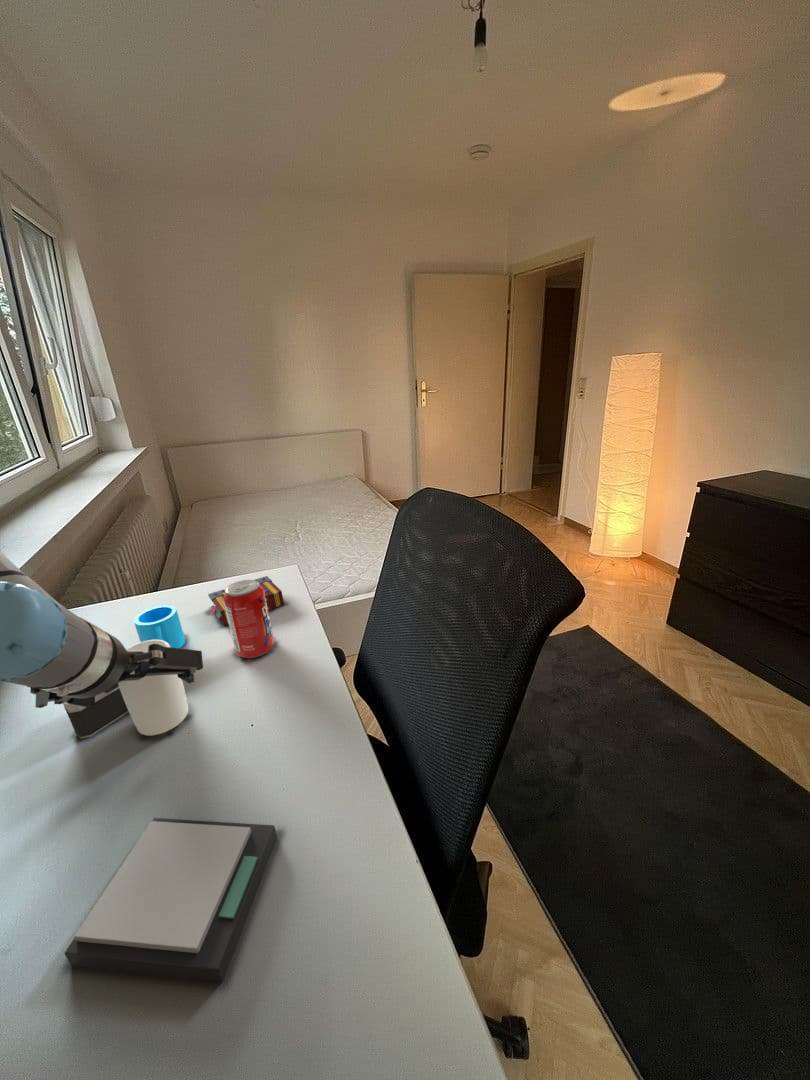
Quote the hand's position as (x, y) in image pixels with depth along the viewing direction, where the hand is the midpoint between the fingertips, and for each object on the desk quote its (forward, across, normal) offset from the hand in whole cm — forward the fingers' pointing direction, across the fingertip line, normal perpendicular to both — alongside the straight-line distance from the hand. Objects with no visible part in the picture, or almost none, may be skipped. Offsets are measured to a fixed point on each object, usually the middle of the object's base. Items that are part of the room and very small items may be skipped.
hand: (143, 685), depth 67 cm
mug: (+27, -4, +12) cm, 30 cm away
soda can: (+22, +15, +6) cm, 27 cm away
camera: (+16, -8, +1) cm, 18 cm away
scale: (-11, +7, -27) cm, 30 cm away
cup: (+11, 0, -5) cm, 12 cm away
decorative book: (+36, +13, +20) cm, 43 cm away
